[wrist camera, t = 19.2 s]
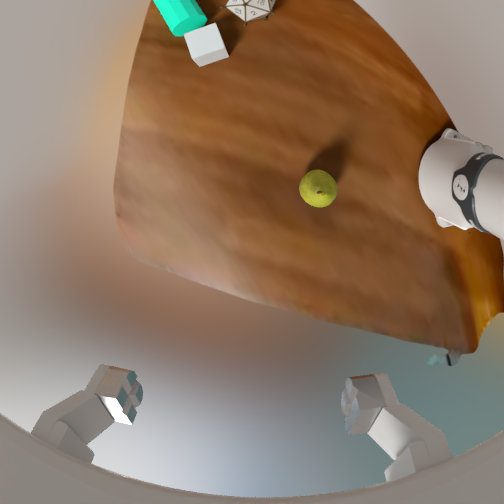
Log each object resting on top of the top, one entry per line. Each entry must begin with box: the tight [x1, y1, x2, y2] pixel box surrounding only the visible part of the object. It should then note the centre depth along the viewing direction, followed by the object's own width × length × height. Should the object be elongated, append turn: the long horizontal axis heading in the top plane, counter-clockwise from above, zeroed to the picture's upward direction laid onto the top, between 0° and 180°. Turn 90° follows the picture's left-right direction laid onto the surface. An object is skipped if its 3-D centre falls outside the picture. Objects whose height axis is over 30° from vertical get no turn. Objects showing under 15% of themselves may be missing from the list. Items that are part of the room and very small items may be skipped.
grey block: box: [184, 23, 229, 67], centre depth 32 cm, size 5×5×5 cm
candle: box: [153, 0, 207, 36], centre depth 28 cm, size 6×6×12 cm
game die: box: [220, 0, 276, 27], centre depth 27 cm, size 9×8×10 cm
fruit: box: [299, 169, 338, 207], centre depth 37 cm, size 6×6×12 cm
